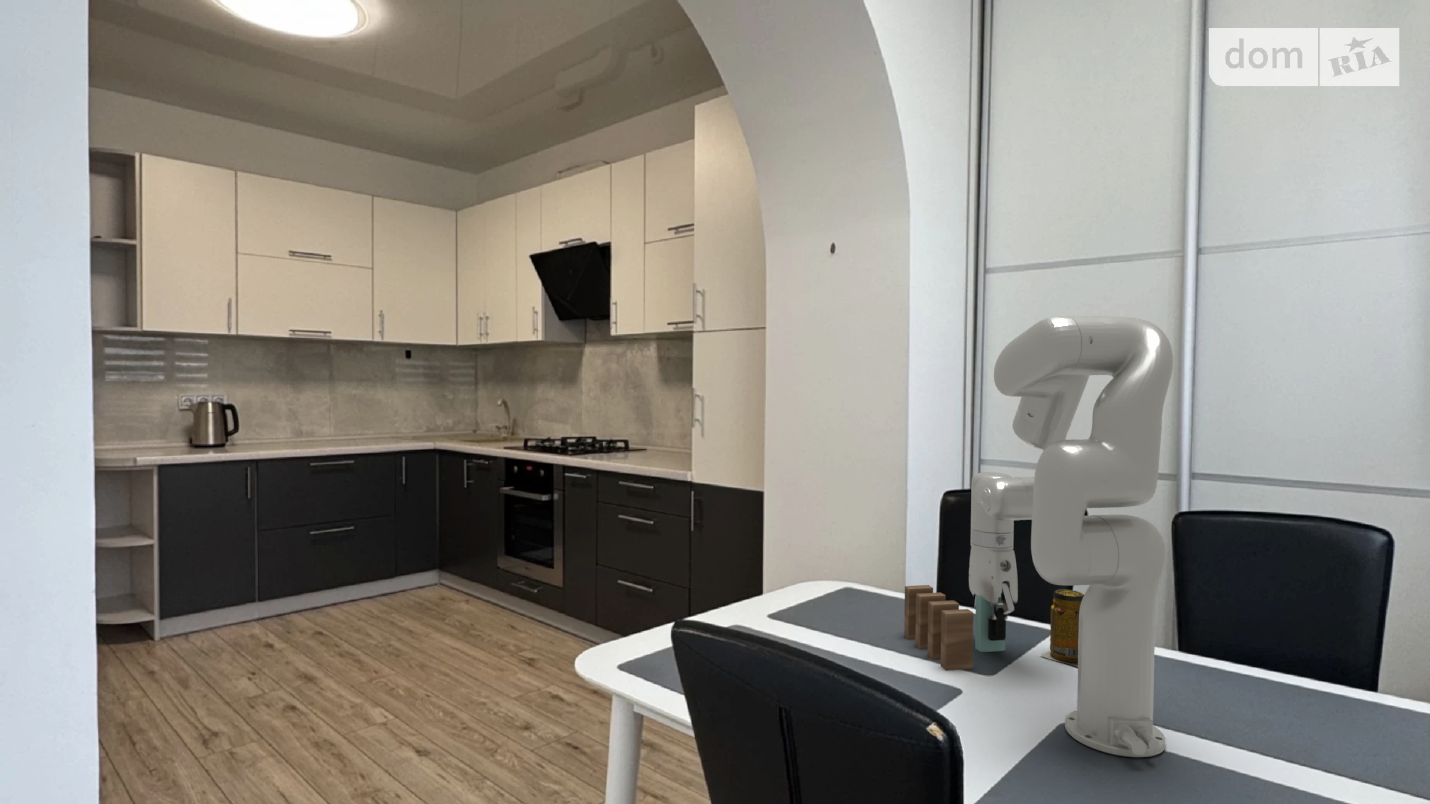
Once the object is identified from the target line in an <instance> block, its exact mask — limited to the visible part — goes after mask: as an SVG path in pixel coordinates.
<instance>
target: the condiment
mask: <svg viewBox="0 0 1430 804" xmlns="http://www.w3.org/2000/svg"><path fill="white" fill-rule="evenodd" d="M1084 595H1085V593H1082V592H1080V591H1078V590H1073V589H1063V588H1062V589H1057V590H1054V591H1053V599H1052V601H1053V604H1052V605H1051V606H1050V626H1049V628H1050V630H1049V632H1050V633H1049V636H1050V639H1049V642H1050V644H1049V650H1050V651H1049V652H1047V653H1046V652H1045V653H1043V654H1041V655H1040V657H1042V658H1046V659H1048V660H1053V661H1054V662H1059V663H1063V664H1067V665H1070V666H1074V667H1076V668H1078V638H1079V611H1080V605H1081V602H1082V599H1083V597H1084Z"/></svg>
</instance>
